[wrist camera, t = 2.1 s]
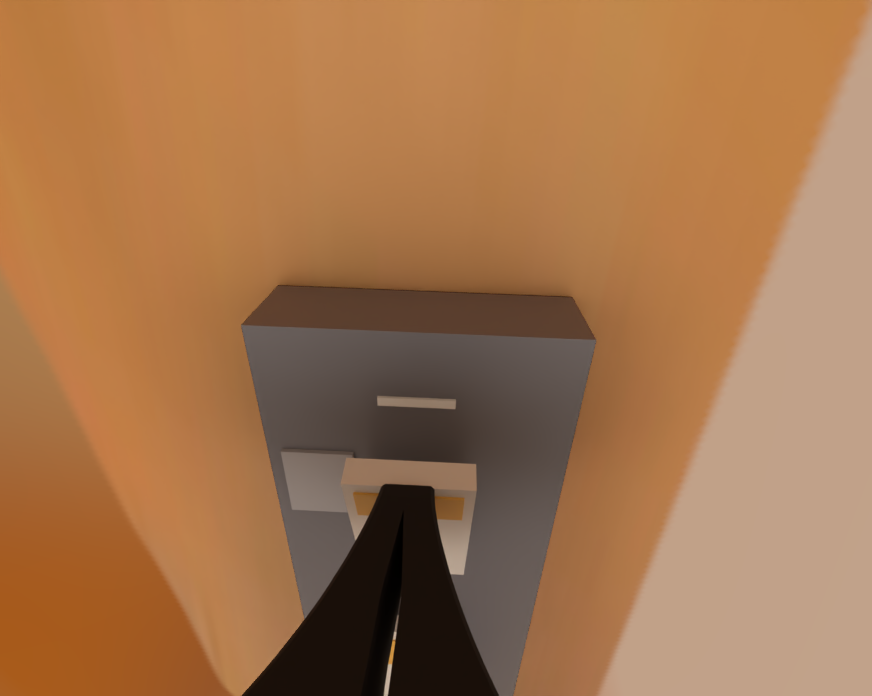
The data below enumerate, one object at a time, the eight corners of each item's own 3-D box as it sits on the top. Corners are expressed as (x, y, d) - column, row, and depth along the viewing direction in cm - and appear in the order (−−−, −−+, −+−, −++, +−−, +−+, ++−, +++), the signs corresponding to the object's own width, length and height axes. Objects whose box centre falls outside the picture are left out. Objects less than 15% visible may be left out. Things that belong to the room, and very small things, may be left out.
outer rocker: (463, 552, 16) (463, 576, 16) (366, 546, 16) (362, 571, 16) (476, 464, 12) (476, 493, 12) (346, 457, 12) (340, 486, 12)
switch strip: (505, 645, 26) (510, 711, 23) (334, 635, 26) (320, 699, 23) (572, 297, 15) (598, 342, 12) (278, 285, 15) (238, 327, 12)
